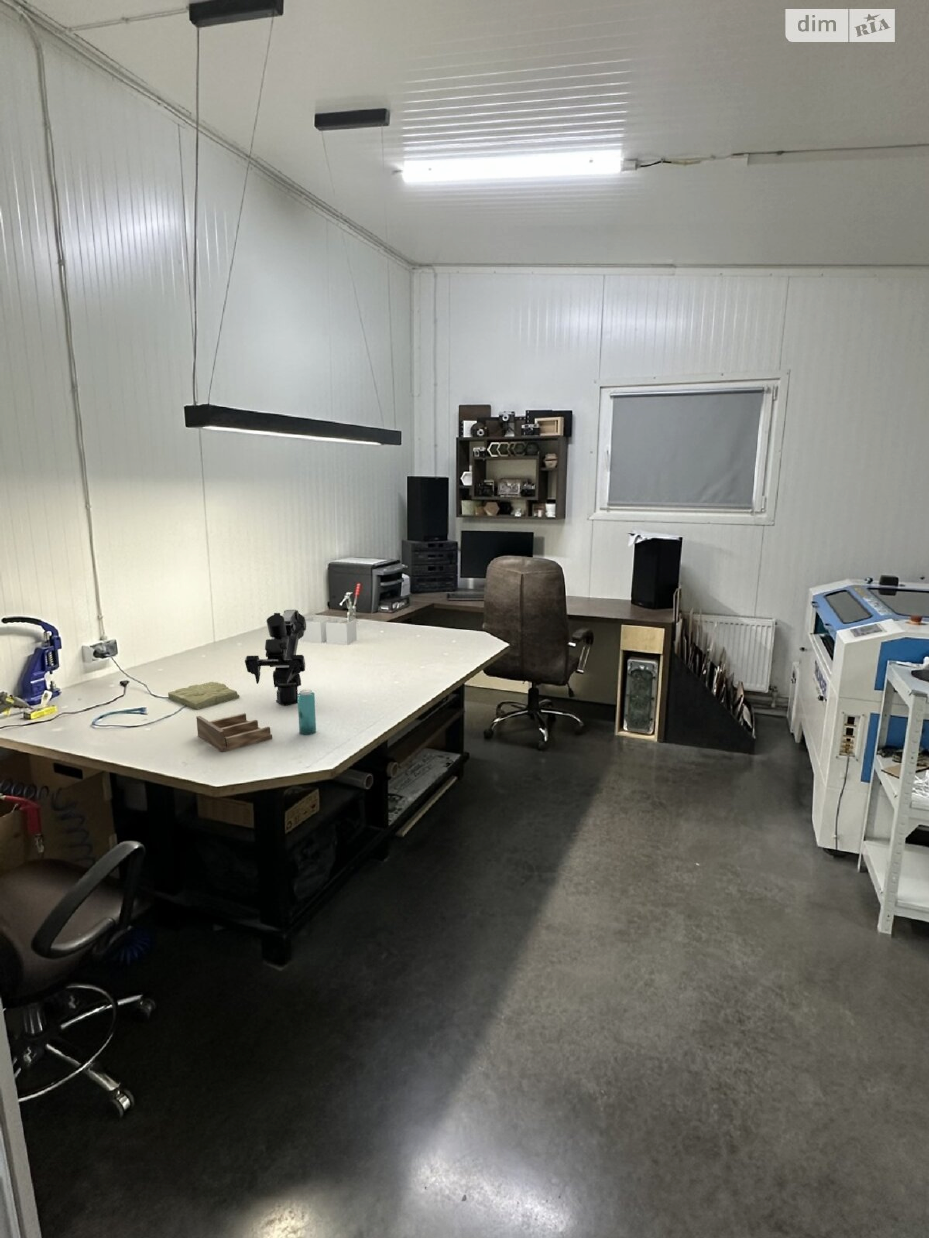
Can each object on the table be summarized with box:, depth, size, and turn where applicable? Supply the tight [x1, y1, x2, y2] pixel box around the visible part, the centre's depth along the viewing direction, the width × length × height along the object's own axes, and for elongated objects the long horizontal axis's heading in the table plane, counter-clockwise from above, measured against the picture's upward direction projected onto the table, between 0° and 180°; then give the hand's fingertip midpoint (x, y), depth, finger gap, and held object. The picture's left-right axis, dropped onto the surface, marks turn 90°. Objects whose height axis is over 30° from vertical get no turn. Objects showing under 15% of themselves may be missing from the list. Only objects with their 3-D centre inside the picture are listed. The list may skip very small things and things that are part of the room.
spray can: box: [297, 689, 317, 736], centre depth 212 cm, size 5×5×14 cm
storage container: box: [300, 616, 358, 646], centre depth 336 cm, size 25×11×11 cm, turn 74°
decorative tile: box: [167, 681, 240, 710], centre depth 247 cm, size 19×20×4 cm
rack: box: [196, 713, 273, 753], centre depth 208 cm, size 16×18×6 cm
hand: (271, 682), depth 215 cm, fingers open, 9 cm apart
